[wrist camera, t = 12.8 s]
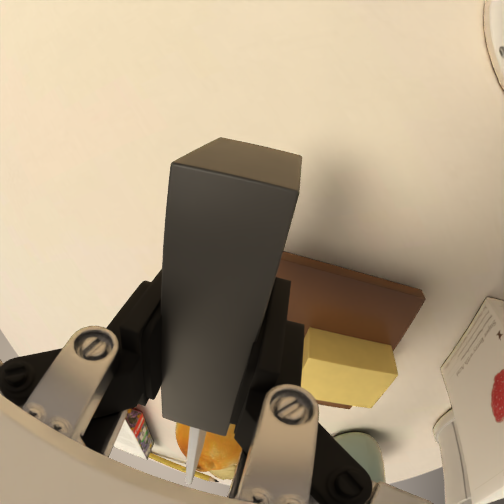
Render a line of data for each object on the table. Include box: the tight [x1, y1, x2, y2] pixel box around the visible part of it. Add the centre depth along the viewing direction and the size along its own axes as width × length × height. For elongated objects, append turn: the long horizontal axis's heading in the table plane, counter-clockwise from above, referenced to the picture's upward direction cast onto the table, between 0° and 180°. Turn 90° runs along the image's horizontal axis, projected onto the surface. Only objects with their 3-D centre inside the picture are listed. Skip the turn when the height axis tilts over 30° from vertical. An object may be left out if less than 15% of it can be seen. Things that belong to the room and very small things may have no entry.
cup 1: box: [334, 432, 386, 483], centre depth 27 cm, size 8×8×10 cm
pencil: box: [149, 453, 219, 482], centre depth 40 cm, size 1×14×1 cm
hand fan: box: [209, 465, 237, 480], centre depth 38 cm, size 12×9×2 cm
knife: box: [161, 137, 302, 484], centre depth 11 cm, size 18×2×4 cm, turn 168°
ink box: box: [113, 409, 154, 459], centre depth 35 cm, size 4×8×15 cm
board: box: [276, 251, 426, 409], centre depth 24 cm, size 14×14×1 cm
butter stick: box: [301, 327, 398, 408], centre depth 22 cm, size 4×7×3 cm, turn 77°
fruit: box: [176, 422, 242, 472], centre depth 28 cm, size 8×8×8 cm
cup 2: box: [433, 409, 472, 504], centre depth 22 cm, size 10×9×12 cm
